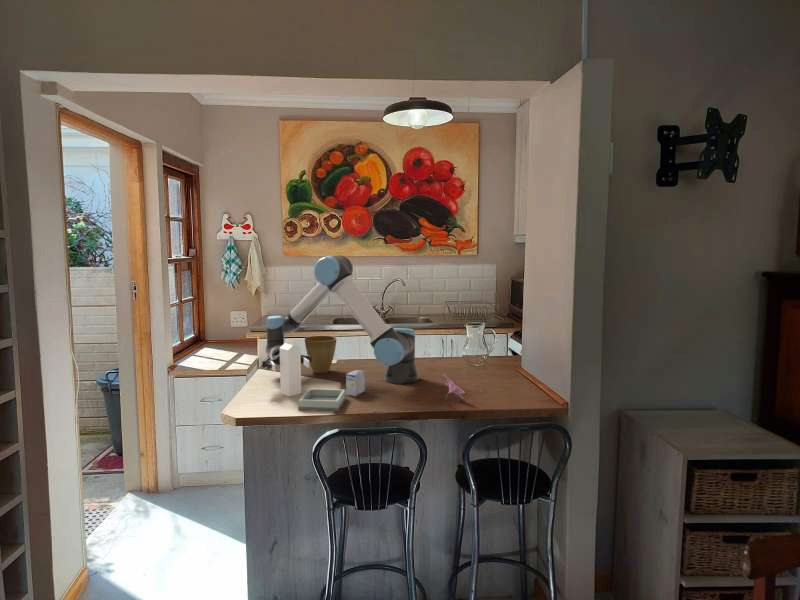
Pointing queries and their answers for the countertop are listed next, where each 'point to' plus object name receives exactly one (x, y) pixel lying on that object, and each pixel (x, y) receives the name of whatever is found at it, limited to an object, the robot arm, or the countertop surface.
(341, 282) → the robot arm
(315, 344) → the plant pot
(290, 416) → the countertop surface
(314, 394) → the carton holder
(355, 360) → the countertop surface
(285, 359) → the milk
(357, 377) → the medicine box
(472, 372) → the countertop surface
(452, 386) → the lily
